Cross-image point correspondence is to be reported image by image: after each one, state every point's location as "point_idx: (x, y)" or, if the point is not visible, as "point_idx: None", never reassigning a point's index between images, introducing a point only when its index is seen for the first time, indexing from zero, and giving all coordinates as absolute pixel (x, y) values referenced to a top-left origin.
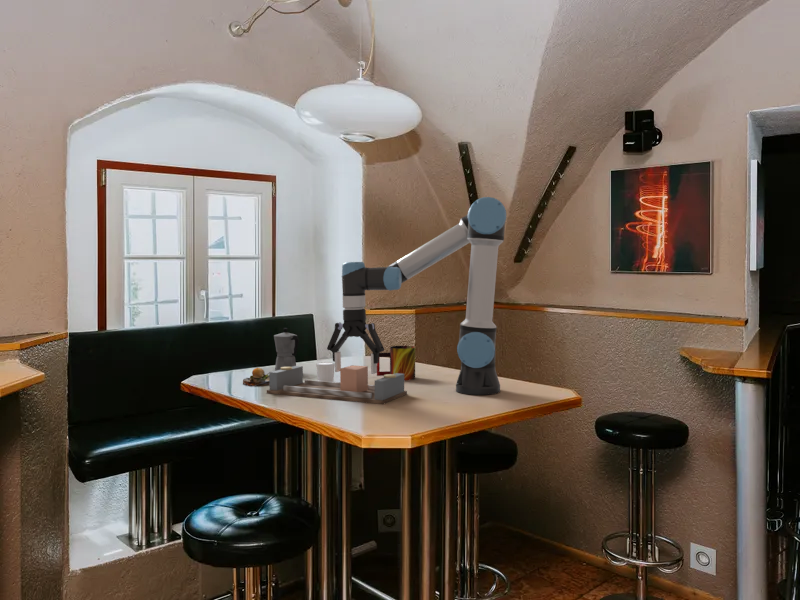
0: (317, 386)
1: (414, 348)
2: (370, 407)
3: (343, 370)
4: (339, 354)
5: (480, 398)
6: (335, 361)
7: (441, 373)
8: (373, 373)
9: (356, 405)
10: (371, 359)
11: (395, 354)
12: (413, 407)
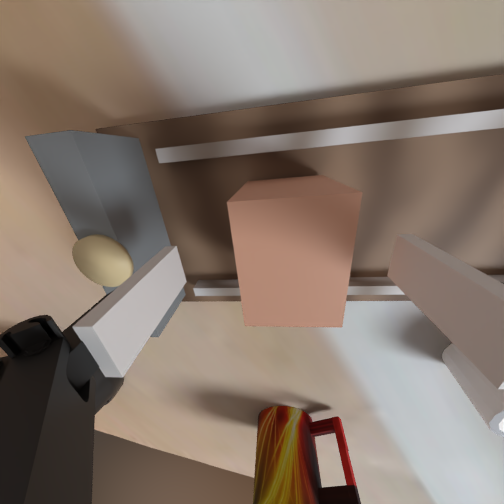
0: (475, 257)
1: None
2: (89, 34)
3: (330, 192)
4: (481, 348)
5: (18, 314)
6: (463, 266)
7: (244, 456)
8: (165, 249)
9: (160, 36)
10: (121, 292)
11: (293, 495)
12: (2, 138)
